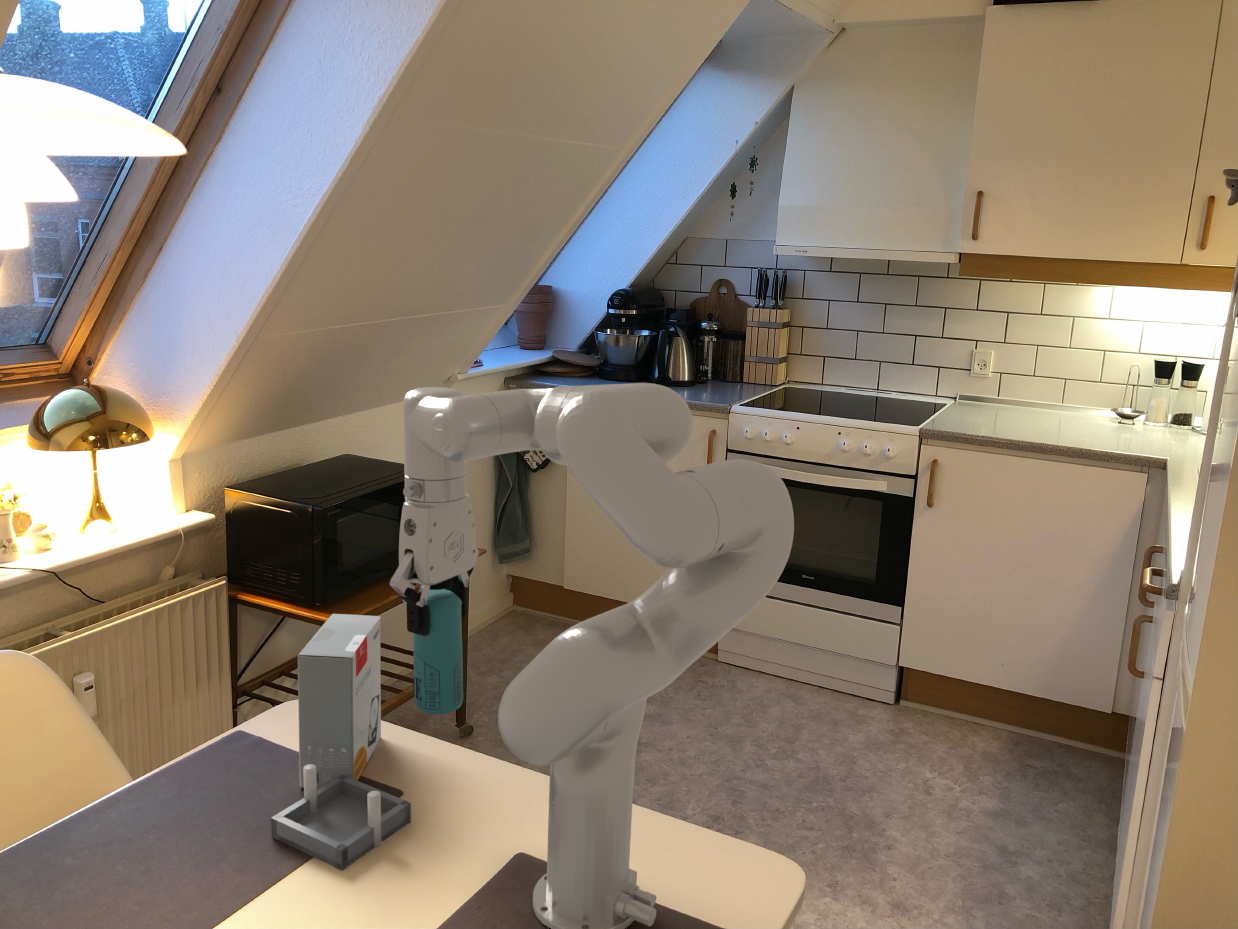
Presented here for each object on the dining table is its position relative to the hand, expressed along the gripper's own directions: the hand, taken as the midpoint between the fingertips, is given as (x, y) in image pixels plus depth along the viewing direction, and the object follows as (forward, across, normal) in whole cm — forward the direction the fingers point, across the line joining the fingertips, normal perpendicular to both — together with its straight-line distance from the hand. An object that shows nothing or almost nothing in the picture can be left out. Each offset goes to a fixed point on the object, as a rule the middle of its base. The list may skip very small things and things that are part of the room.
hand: (437, 622), depth 126 cm
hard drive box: (+27, +2, +20) cm, 34 cm away
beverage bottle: (+13, 0, 0) cm, 13 cm away
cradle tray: (+27, -10, +8) cm, 30 cm away
